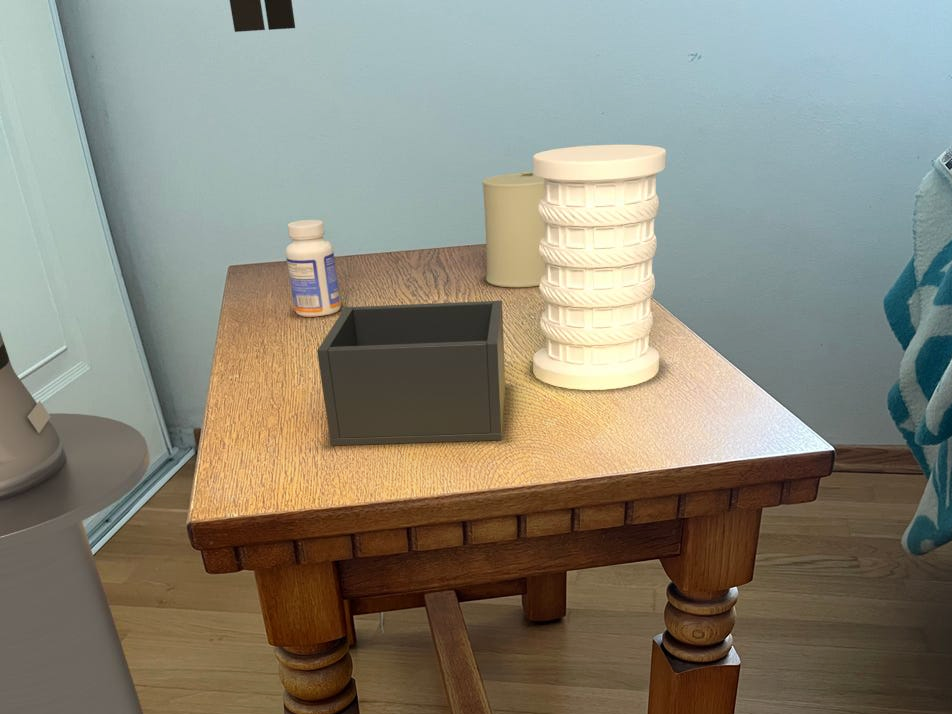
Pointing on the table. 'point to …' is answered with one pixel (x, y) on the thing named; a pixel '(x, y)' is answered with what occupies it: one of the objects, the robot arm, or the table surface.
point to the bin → (414, 373)
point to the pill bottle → (312, 270)
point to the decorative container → (598, 265)
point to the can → (513, 229)
